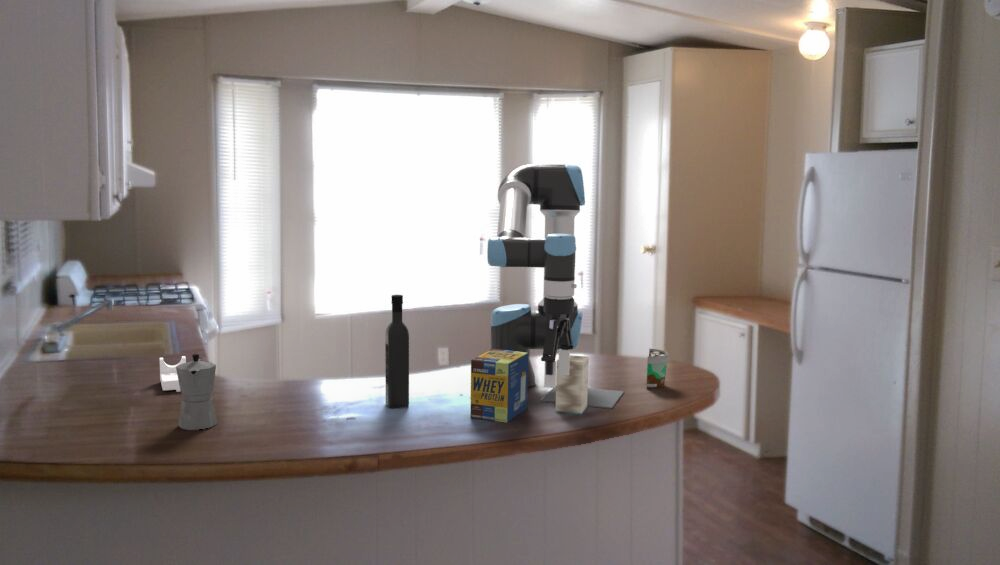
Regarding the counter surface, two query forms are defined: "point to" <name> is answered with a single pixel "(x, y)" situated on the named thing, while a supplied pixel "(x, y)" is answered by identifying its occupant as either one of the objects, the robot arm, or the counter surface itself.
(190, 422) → the coffeepot
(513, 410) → the protein box
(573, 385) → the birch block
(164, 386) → the bracket
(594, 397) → the mat
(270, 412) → the counter surface
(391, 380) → the wine bottle
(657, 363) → the food container
